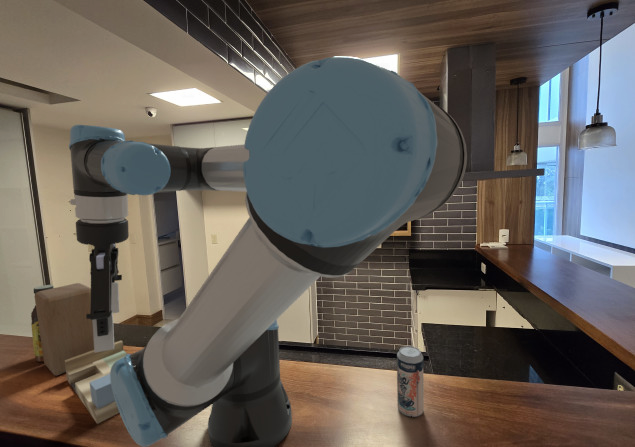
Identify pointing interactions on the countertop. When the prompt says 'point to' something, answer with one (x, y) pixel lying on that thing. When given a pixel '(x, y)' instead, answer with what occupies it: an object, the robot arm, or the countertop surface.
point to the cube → (102, 391)
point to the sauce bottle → (37, 327)
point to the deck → (93, 377)
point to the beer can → (410, 381)
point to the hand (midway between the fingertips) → (108, 329)
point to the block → (64, 324)
